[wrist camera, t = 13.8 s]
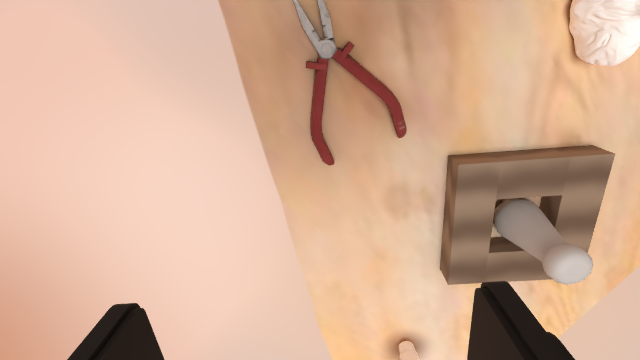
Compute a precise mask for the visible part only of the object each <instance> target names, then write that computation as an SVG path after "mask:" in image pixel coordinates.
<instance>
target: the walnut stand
mask: <svg viewBox="0 0 640 360" xmlns="http://www.w3.org/2000/svg"><path fill="white" fill-rule="evenodd" d="M614 156H615V153H612V152H609V151H606V150H604V149H601V148H598V147H596V146H593V145H589V146H575V147H561V148H547V149H534V150H520V151H506V152H492V153H478V154H465V155H451V156H448V167H447V180H446V194H445V208H444V222H443V236H442V250H441V264H440V269H441V271H442V273H443V275H444V277H445V279H446V281H447V283H448V285H452V284H471V283H483V282H494V281H506V282H509V281H528V280H547V279H552V278H551V277H550V276H548V275H547V274H546V272H545V271H544V268H543V265H542V261H540V260H539V259H537V258H535V257H534V256H532V255H531V254H529V253H528V252H526V251H525V250H523V249H522V248H520V247H519V246H517V245H516V244H514V243H513V242H511V241H509V240H508V239H506V238H505V237H497V238H491V232H492V225H493V218H494V211H495V203H496V199H512V198H527V197H542V199H541V204H540V210H541V211H542V212H543V213H544V215H545V216H546V217H547V219H548V220H549V221H550V222H551V224H552V225H553V226H554V228H555V229H556V230H557V232H558V233H559V234H560V235H561V237H562V238H563V239H564V240H565V242H566V243H570V244H575V245H578V246H579V247H580V248H582V249H583V250H584V251H585V252H587V253H588V249H589V246H590V242H591V239H592V235H593V231H594V228H595V224H596V221H597V217H598V213H599V210H600V206H601V203H602V199H603V196H604V192H605V188H606V185H607V181H608V178H609V174H610V170H611V167H612V163H613V160H614Z"/></svg>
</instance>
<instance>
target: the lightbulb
mask: <svg viewBox="0 0 640 360" xmlns="http://www.w3.org/2000/svg"><path fill="white" fill-rule="evenodd" d="M399 353H400V358H399V359H400V360H420V358H419V355H418V354H417V353H416V350H415V347H414V345H413V343H411V342H410V341H403V342H401V343H400V345H399Z"/></svg>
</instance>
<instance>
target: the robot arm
mask: <svg viewBox="0 0 640 360" xmlns="http://www.w3.org/2000/svg"><path fill="white" fill-rule="evenodd" d="M68 360H164V357H163V355H162V352H161V350H160V347H159V345H158V342H157V340H156V337H155V335H154V332H153V330H152V327H151V324H150V322H149V319H148V317H147V314H146V312H145V310H144V309H143V308H140V306H139V305H138V304H137V303H130V304H116V305H113V306H112V307H111V308H110V309H109V310H108V311H107V312H106V314H105V315H104V316H103V317H102V319H101V320H100V321H99V322H98V323H97V324H96V326H95V327H94V328H93V329H92V331H91V332H90V333H89V334H88V335H87V336H86V338H85V339H84V340H83V341H82V343H81V344H80V345H79V346H78V347H77V349H76V350H75V351H74V352H73V353H72V355H71V356H70V357H69V358H68ZM467 360H575V359H574V358H573V357H572V355H571V354H570V353H569V352H568V350H567V349H566V348H565V346H564V345H563V344H562V343H561V341H560V340H559V339H558V338H557V337H556V336H555V335H553V334H552V333H550V332H546V331H545V330H544V328H543V327H542V326H541V324H540V323H539V322H538V321H537V319H536V318H535V317H534V315H533V314H532V313H531V311H530V310H529V309H528V308H527V306H526V305H525V304H524V302H523V301H522V300H521V298H520V297H519V296H518V295H517V293H516V292H515V291H514V289H513V288H512V287H511V285H510V284H509V283H508V282H506V281H494V282H483V283H482V284H481V288H476V290H475V295H474V303H473V312H472V321H471V330H470V339H469V348H468V357H467Z"/></svg>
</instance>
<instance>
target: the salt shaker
mask: <svg viewBox="0 0 640 360" xmlns="http://www.w3.org/2000/svg"><path fill="white" fill-rule="evenodd" d="M494 224H495V227H496V230H497V232H498V233H499V234H501V235H502V236H503V237H505V238H506V239H508V240H509V241H511V242H513V243H514V244H516V245H517V246H519V247H520V248H522V249H523V250H525V251H526V252H528V253H529V254H531V255H532V256H534V257H535V258H537V259H539V260H540V261H542V265H543V268H544V271H545V272H546V274H547V275H548V276H550V277H551V278H552V279H554V280H555V281H556V282H558V283H562V284H573V283H578V282H580V281H582V280H584V279H585V278H586V277H587V276H588V275H589V274H590V273H591V270H592V267H593V262H592V258H591V257H590V256H589V254H588V253H587V252H585V251H584V250H583V249H582V248H580V247H579V246H578V245H575V244H570V243H566V242H565V240H564V239H563V238H562V237H561V235H560V234H559V233H558V232H557V230H556V229H555V228H554V226H553V225H552V224H551V222H550V221H549V220H548V219H547V217H546V216H545V215H544V213H543V212H542V211H541V210H540V208H539V207H538V206H536V205H535V204H534V203H533V202H531V201H528V200H523V199H505V200H503V201H502V202H501V203H500V204H499V205H498V206H497V207H496V208H495V218H494Z"/></svg>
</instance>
